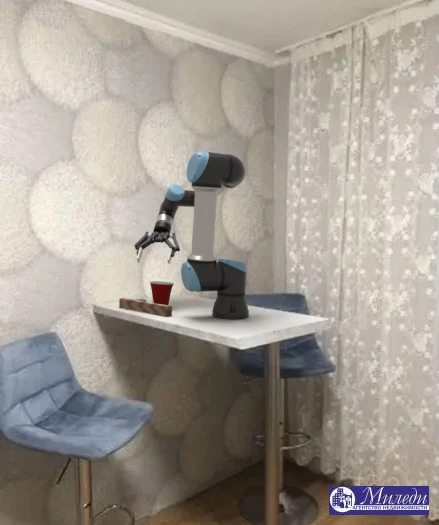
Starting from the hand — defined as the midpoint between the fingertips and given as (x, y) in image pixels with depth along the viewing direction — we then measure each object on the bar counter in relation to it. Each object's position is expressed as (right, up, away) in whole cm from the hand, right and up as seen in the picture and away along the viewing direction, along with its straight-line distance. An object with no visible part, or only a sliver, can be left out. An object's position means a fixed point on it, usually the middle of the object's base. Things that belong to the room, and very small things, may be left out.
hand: (153, 261), depth 203 cm
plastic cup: (+3, -21, +4) cm, 21 cm away
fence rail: (0, -21, -2) cm, 21 cm away
